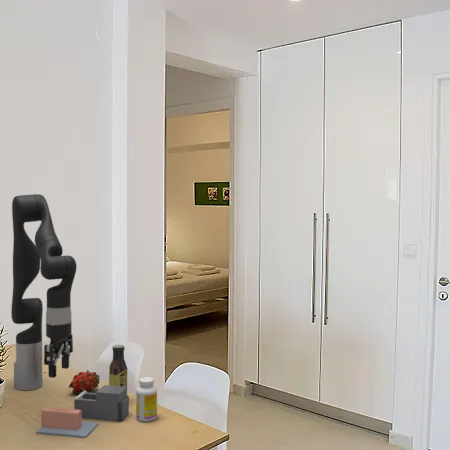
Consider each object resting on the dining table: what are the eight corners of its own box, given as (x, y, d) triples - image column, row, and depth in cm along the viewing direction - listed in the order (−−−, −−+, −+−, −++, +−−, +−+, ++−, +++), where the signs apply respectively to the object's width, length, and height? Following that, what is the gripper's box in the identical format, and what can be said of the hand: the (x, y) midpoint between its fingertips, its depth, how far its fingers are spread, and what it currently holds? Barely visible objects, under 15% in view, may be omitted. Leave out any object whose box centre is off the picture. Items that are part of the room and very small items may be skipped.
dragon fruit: (102, 393, 211) (71, 405, 204) (93, 375, 216) (63, 386, 209) (105, 380, 206) (74, 391, 199) (96, 362, 211) (65, 372, 204)
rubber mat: (36, 433, 172) (36, 431, 172) (51, 420, 182) (51, 418, 182) (85, 438, 170) (85, 436, 170) (99, 424, 179) (99, 422, 179)
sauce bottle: (123, 406, 194) (123, 349, 193) (105, 405, 196) (105, 348, 194) (130, 399, 201) (130, 344, 200) (113, 398, 202) (113, 343, 201)
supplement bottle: (160, 416, 186) (161, 378, 186) (149, 423, 180) (150, 384, 180) (143, 412, 189) (143, 375, 189) (132, 420, 183) (132, 380, 183)
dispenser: (74, 417, 185) (74, 390, 184) (83, 409, 191) (83, 383, 191) (121, 421, 182) (121, 394, 181) (128, 413, 189) (128, 386, 188)
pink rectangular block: (41, 426, 176) (41, 410, 176) (45, 422, 179) (45, 406, 179) (77, 429, 174) (77, 413, 174) (81, 425, 177) (81, 410, 177)
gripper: (58, 315, 182) (58, 364, 183) (35, 325, 168) (36, 379, 169) (80, 316, 181) (80, 366, 182) (59, 327, 167) (59, 381, 168)
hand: (59, 372), depth 175 cm, fingers open, 8 cm apart
